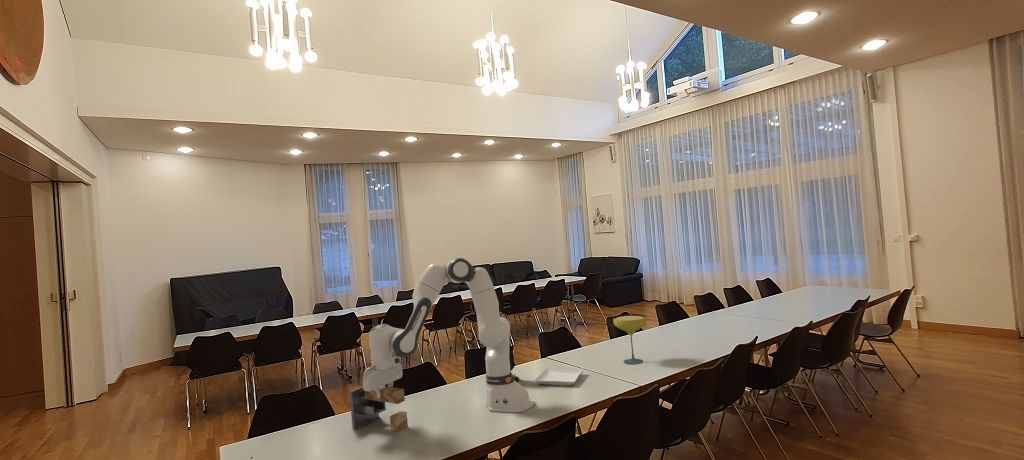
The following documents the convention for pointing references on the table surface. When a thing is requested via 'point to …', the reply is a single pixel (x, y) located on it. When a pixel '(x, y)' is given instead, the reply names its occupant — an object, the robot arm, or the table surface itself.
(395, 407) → the table surface
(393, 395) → the walnut rail
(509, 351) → the microphone
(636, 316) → the cocktail glass
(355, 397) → the bracket
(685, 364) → the table surface
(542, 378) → the salad plate
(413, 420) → the table surface
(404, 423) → the oak post
